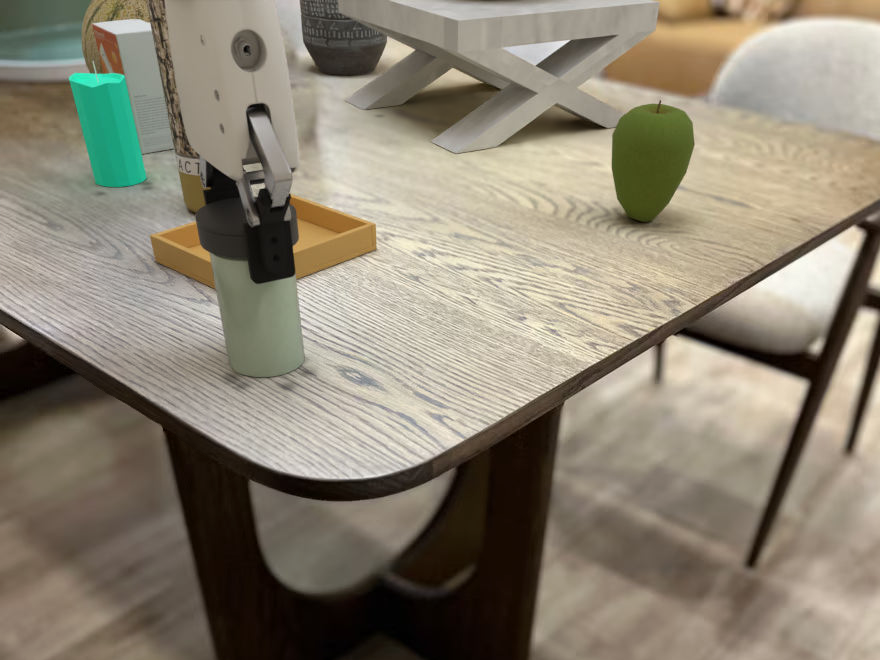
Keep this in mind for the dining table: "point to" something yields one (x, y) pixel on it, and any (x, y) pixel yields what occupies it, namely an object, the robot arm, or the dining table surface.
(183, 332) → the dining table surface
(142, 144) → the small box
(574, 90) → the x-leg display riser
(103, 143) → the candle
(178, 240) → the tray
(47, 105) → the dining table surface
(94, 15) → the cantaloupe
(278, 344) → the jar
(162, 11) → the paper tube
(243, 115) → the robot arm
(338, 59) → the planter
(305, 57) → the dining table surface
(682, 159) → the apple
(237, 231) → the lid
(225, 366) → the dining table surface
